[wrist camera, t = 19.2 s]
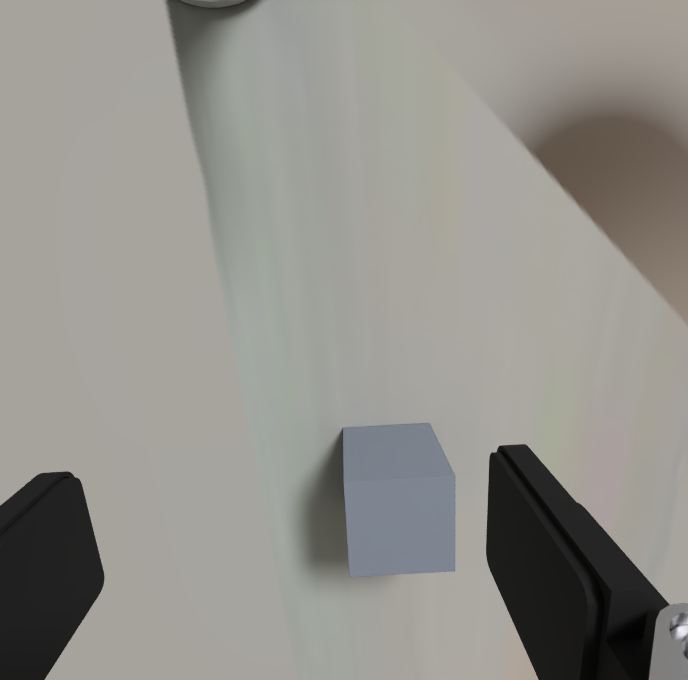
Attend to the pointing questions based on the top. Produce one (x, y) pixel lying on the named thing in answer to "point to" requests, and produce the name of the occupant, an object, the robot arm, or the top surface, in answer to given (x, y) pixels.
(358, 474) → the pale blue-grey cube
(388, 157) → the top surface
